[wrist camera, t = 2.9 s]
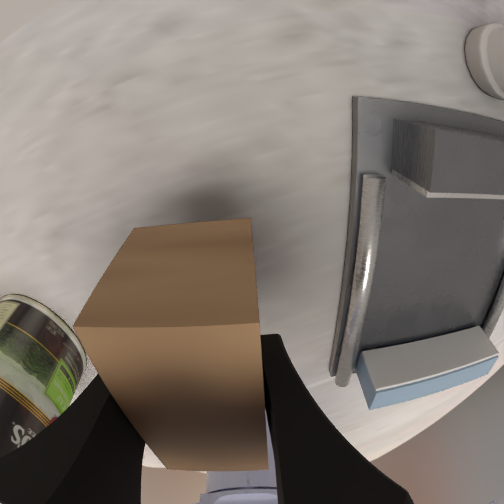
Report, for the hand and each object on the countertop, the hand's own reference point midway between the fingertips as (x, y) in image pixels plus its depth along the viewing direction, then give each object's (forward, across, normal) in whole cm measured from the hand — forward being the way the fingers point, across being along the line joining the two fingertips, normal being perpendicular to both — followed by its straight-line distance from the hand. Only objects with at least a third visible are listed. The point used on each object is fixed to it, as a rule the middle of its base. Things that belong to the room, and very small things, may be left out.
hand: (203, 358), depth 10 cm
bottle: (+9, -18, -12) cm, 23 cm away
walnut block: (+2, 0, 0) cm, 2 cm away
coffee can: (+9, +18, +8) cm, 21 cm away
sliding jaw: (+8, -16, +10) cm, 20 cm away
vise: (+8, -16, +2) cm, 18 cm away
